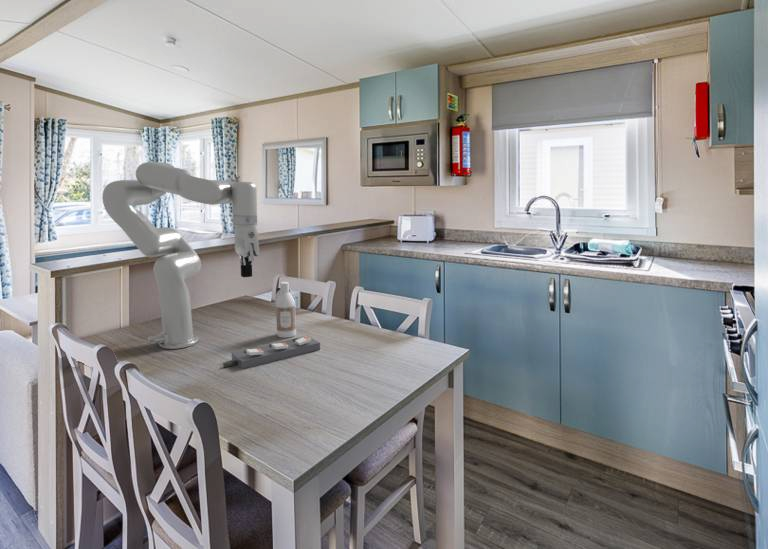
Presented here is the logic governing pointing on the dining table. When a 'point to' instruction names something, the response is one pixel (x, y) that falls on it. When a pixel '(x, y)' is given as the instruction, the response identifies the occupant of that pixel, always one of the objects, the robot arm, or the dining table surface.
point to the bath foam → (285, 313)
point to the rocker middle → (279, 346)
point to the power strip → (272, 353)
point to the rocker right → (303, 340)
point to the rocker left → (254, 351)
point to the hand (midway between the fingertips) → (246, 276)
